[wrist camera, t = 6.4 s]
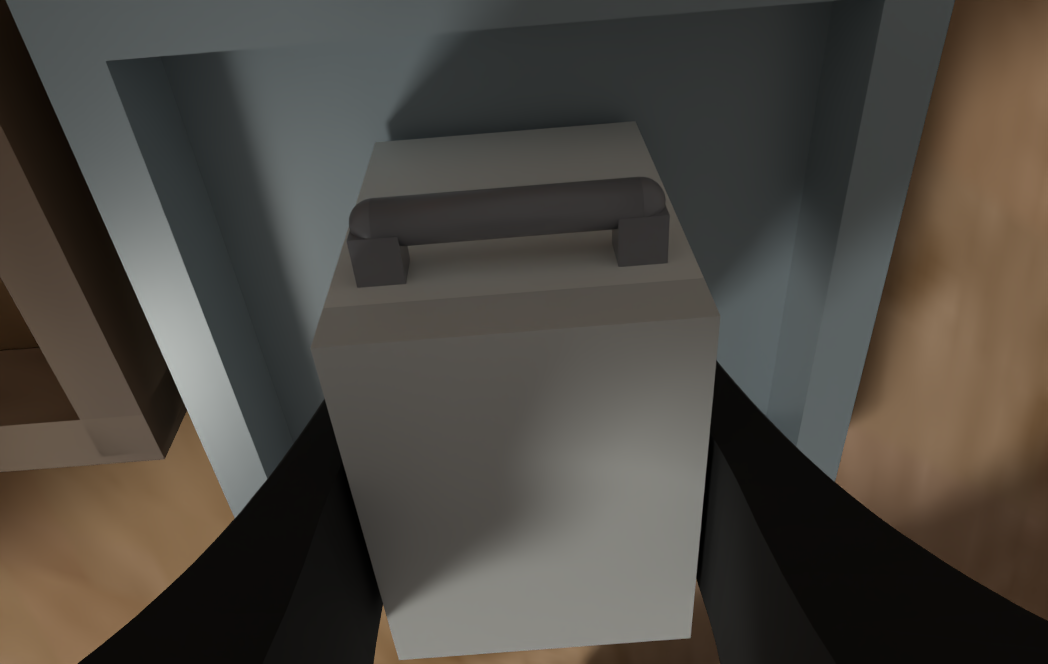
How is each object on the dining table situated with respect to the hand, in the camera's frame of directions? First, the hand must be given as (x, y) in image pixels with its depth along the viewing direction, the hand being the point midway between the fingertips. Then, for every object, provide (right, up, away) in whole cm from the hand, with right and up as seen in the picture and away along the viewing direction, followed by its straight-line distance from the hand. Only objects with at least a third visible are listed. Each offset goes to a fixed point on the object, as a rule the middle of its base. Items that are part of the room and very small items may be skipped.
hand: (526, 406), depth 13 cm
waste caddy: (0, +2, +2) cm, 3 cm away
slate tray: (0, +3, +3) cm, 4 cm away
